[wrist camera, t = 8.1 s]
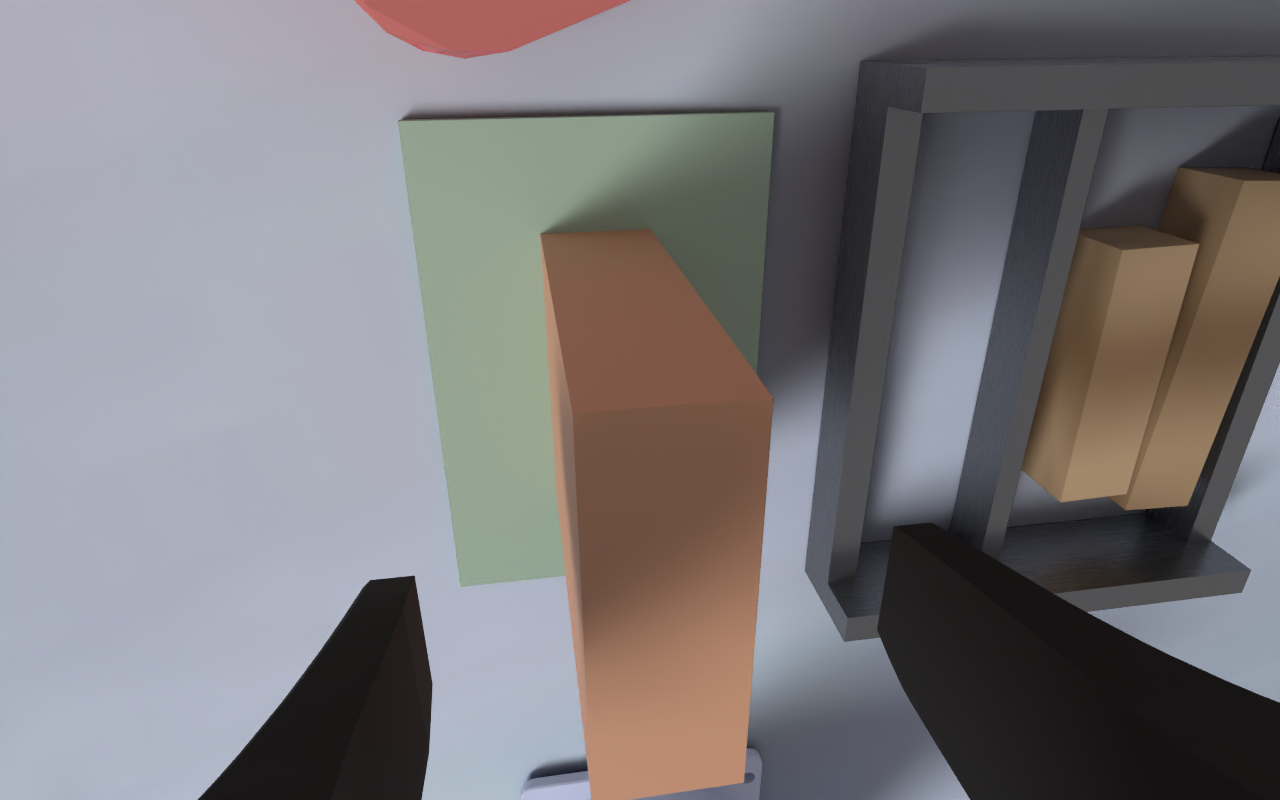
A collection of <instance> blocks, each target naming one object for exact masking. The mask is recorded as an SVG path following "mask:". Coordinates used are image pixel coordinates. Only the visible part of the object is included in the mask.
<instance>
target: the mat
mask: <svg viewBox="0 0 1280 800" xmlns="http://www.w3.org/2000/svg"><path fill="white" fill-rule="evenodd" d="M398 124H399V132H400V139H401V147H402V154H403V161H404V169H405V176H406V184H407V191H408V199H409V206H410V213H411V221H412V228H413V236H414V243H415V250H416V258H417V265H418V273H419V280H420V288H421V295H422V302H423V310H424V317H425V325H426V332H427V340H428V347H429V354H430V362H431V369H432V377H433V384H434V391H435V399H436V406H437V414H438V421H439V429H440V436H441V443H442V451H443V458H444V466H445V473H446V481H447V488H448V495H449V503H450V510H451V518H452V525H453V532H454V540H455V547H456V555H457V562H458V570H459V577H460V584H461V587H463V586H473V585H482V584H492V583H501V582H511V581H520V580H530V579H539V578H548V577H558V576H566V574H565V565H564V556H563V548H562V539H561V530H560V521H559V513H558V504H557V493H556V477H555V461H554V445H553V429H552V413H551V398H550V382H549V366H548V350H547V334H546V318H545V303H544V287H543V271H542V255H541V239H540V234H549V233H572V232H594V231H617V230H639V229H651V231H652V232H653V233H654V235H655V236H656V237H657V239H658V240H659V241H660V243H661V244H662V246H663V247H664V248H665V250H666V251H667V252H668V254H669V255H670V257H671V258H672V259H673V261H674V262H675V263H676V265H677V266H678V267H679V269H680V270H681V272H682V273H683V274H684V276H685V277H686V278H687V280H688V281H689V283H690V284H691V285H692V287H693V288H694V289H695V291H696V292H697V294H698V295H699V296H700V298H701V299H702V300H703V302H704V303H705V304H706V306H707V307H708V309H709V310H710V311H711V313H712V314H713V315H714V317H715V318H716V320H717V321H718V322H719V324H720V325H721V326H722V328H723V329H724V330H725V332H726V333H727V335H728V336H729V337H730V339H731V340H732V341H733V343H734V344H735V346H736V347H737V348H738V350H739V351H740V352H741V354H742V355H743V356H744V358H745V359H746V361H747V362H748V363H749V365H750V366H751V367H752V369H753V370H754V372H755V373H756V374H757V368H758V353H759V338H760V323H761V308H762V293H763V278H764V263H765V248H766V233H767V218H768V203H769V188H770V172H771V157H772V142H773V127H774V112H771V111H764V112H720V113H675V114H630V115H586V116H541V117H496V118H452V119H407V120H399V121H398Z"/></svg>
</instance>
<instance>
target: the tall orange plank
mask: <svg viewBox="0 0 1280 800" xmlns="http://www.w3.org/2000/svg"><path fill="white" fill-rule="evenodd" d="M540 239H541V255H542V271H543V287H544V303H545V318H546V334H547V350H548V366H549V382H550V398H551V413H552V429H553V445H554V461H555V477H556V493H557V504H558V513H559V521H560V530H561V539H562V548H563V556H564V565H565V574H566V583H567V591H568V600H569V609H570V618H571V626H572V635H573V644H574V652H575V661H576V670H577V679H578V687H579V696H580V705H581V714H582V722H583V731H584V740H585V749H586V757H587V766H588V775H589V784H590V792H591V800H630V799H637V798H644V797H651V796H657V795H664V794H671V793H678V792H684V791H691V790H698V789H705V788H711V787H718V786H725V785H732V784H738V783H744V776H745V763H746V750H747V737H748V724H749V711H750V698H751V685H752V672H753V659H754V646H755V633H756V620H757V607H758V594H759V581H760V568H761V555H762V542H763V529H764V516H765V503H766V490H767V477H768V464H769V451H770V438H771V425H772V412H773V399H774V398H773V396H772V395H771V393H770V392H769V391H768V389H767V388H766V387H765V385H764V384H763V383H762V381H761V380H760V378H759V377H758V376H757V374H756V373H755V372H754V370H753V369H752V367H751V366H750V365H749V363H748V362H747V361H746V359H745V358H744V356H743V355H742V354H741V352H740V351H739V350H738V348H737V347H736V346H735V344H734V343H733V341H732V340H731V339H730V337H729V336H728V335H727V333H726V332H725V330H724V329H723V328H722V326H721V325H720V324H719V322H718V321H717V320H716V318H715V317H714V315H713V314H712V313H711V311H710V310H709V309H708V307H707V306H706V304H705V303H704V302H703V300H702V299H701V298H700V296H699V295H698V294H697V292H696V291H695V289H694V288H693V287H692V285H691V284H690V283H689V281H688V280H687V278H686V277H685V276H684V274H683V273H682V272H681V270H680V269H679V267H678V266H677V265H676V263H675V262H674V261H673V259H672V258H671V257H670V255H669V254H668V252H667V251H666V250H665V248H664V247H663V246H662V244H661V243H660V241H659V240H658V239H657V237H656V236H655V235H654V233H653V232H652V231H651V229H639V230H617V231H594V232H572V233H549V234H540Z"/></svg>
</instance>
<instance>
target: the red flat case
mask: <svg viewBox="0 0 1280 800" xmlns="http://www.w3.org/2000/svg"><path fill="white" fill-rule="evenodd" d="M355 1H356V2H357V3H358V4H359V5H360V6H361V7H362V8H363V9H364V10H365V11H366V12H367V13H368V14H369V15H370V16H371V17H372V18H373V19H374V20H375V21H376V22H377V23H378V24H379V25H380V26H381V27H382V28H383V29H384V30H385V31H386V32H387V33H389V34H391V35H393V36H395V37H397V38H399V39H401V40H403V41H405V42H407V43H409V44H411V45H413V46H415V47H417V48H419V49H421V50H423V51H427V52H433V53H438V54H444V55H449V56H455V57H460V58H470V57H477V56H483V55H489V54H495V53H501V52H508V51H511V50H514V49H516V48H518V47H521V46H523V45H525V44H528V43H530V42H533V41H535V40H537V39H540V38H542V37H544V36H547V35H549V34H551V33H554V32H556V31H559V30H561V29H563V28H566V27H568V26H570V25H573V24H575V23H578V22H580V21H582V20H585V19H587V18H589V17H592V16H594V15H596V14H599V13H601V12H604V11H606V10H608V9H611V8H613V7H615V6H618V5H620V4H622V3H625V2H627V1H630V0H355Z"/></svg>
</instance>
